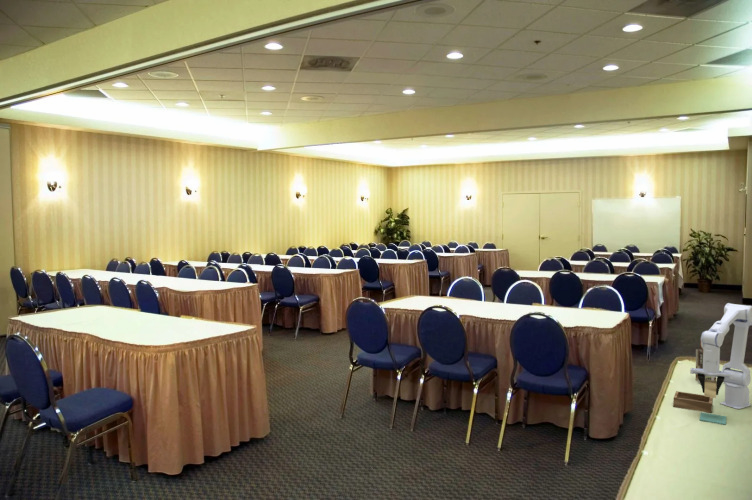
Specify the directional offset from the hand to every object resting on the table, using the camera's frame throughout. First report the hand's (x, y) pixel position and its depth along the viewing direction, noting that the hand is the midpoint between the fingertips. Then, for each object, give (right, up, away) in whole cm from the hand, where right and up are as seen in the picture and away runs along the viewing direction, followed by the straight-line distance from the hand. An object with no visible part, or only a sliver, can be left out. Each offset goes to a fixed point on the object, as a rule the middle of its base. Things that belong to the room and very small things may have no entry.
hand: (710, 393), depth 223 cm
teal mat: (0, -10, -1) cm, 10 cm away
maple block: (0, -1, 0) cm, 1 cm away
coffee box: (+24, -7, +43) cm, 49 cm away
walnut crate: (+1, -9, +13) cm, 16 cm away
